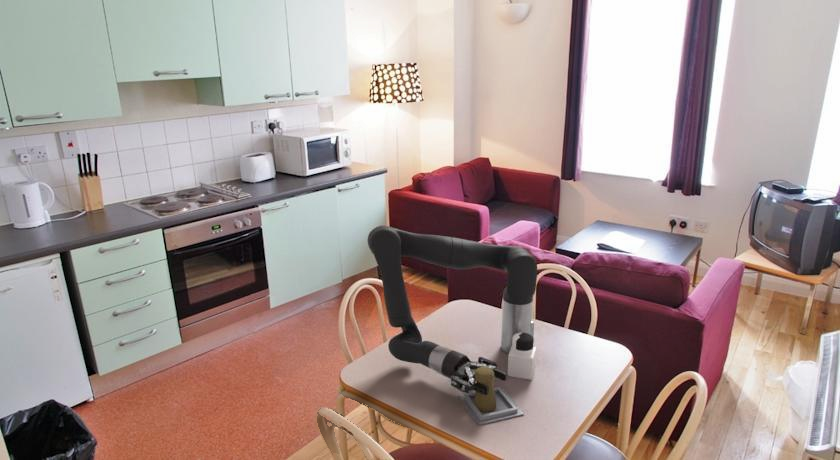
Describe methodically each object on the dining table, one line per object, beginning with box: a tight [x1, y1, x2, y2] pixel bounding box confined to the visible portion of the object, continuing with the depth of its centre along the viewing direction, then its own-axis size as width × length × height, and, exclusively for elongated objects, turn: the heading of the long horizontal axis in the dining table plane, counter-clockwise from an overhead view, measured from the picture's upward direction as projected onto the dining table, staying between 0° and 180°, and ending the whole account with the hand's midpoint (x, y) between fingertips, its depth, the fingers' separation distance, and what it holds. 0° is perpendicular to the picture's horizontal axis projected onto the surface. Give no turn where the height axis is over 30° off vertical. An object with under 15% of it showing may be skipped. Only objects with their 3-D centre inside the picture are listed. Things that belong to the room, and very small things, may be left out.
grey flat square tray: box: [458, 386, 525, 427], centre depth 148 cm, size 13×13×1 cm
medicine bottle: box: [507, 333, 537, 381], centre depth 162 cm, size 7×7×12 cm
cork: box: [474, 367, 497, 412], centre depth 146 cm, size 6×6×11 cm
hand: (497, 384), depth 145 cm, fingers open, 8 cm apart
